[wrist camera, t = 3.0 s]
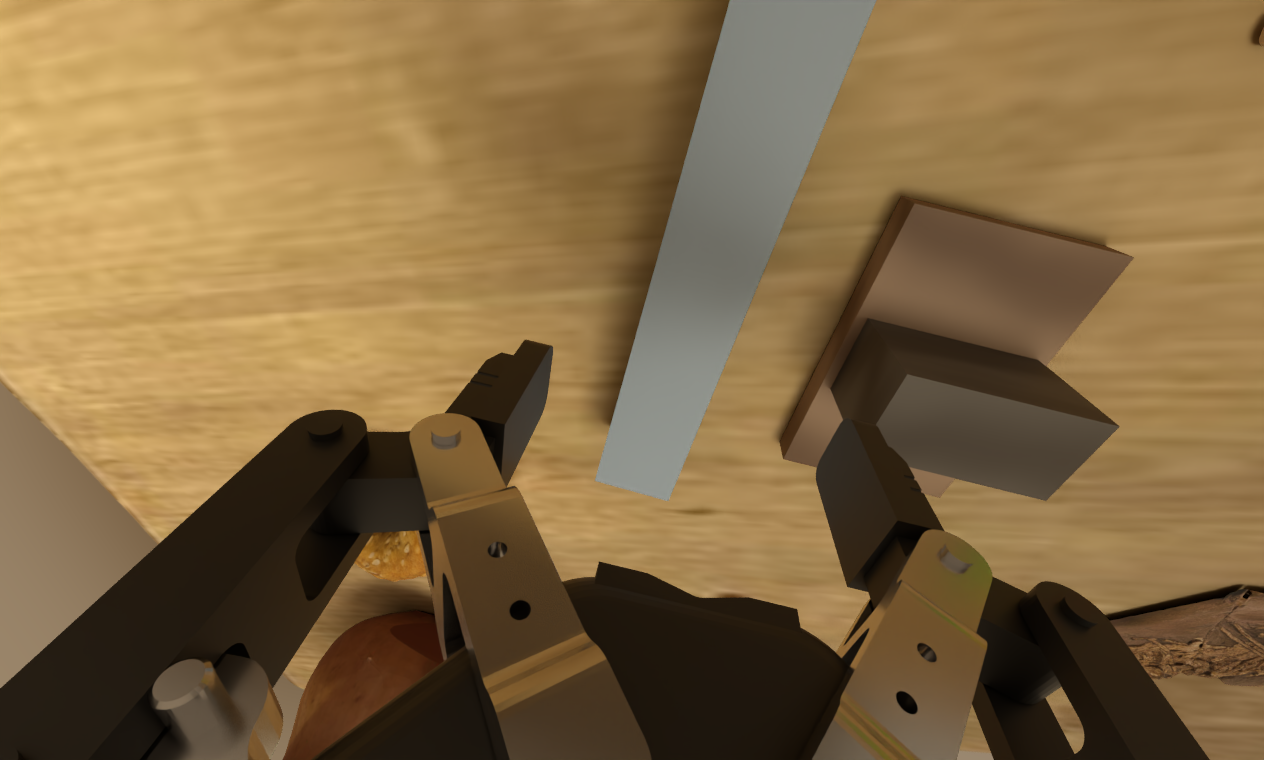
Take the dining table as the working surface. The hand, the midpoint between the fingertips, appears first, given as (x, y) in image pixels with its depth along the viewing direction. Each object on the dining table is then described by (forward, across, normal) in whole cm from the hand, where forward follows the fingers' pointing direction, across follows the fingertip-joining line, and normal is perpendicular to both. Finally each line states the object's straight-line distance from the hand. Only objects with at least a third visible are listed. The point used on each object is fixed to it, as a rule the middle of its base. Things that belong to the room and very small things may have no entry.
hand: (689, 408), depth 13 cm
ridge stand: (+12, -12, +2) cm, 17 cm away
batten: (+12, 0, 0) cm, 12 cm away
